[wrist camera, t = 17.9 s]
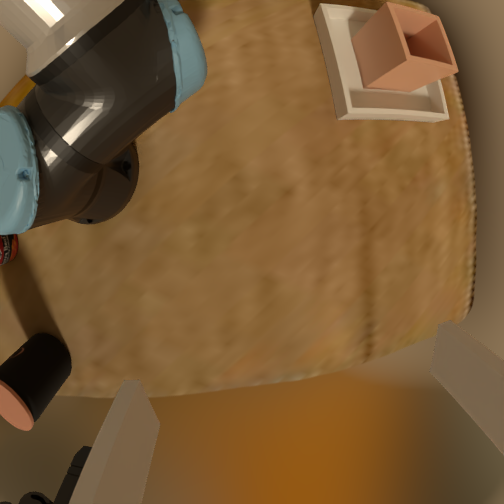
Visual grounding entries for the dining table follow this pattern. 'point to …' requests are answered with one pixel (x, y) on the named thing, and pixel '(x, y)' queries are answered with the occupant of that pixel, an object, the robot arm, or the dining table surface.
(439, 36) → the box
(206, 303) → the dining table surface
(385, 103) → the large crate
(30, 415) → the coffee jar
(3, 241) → the canned food
